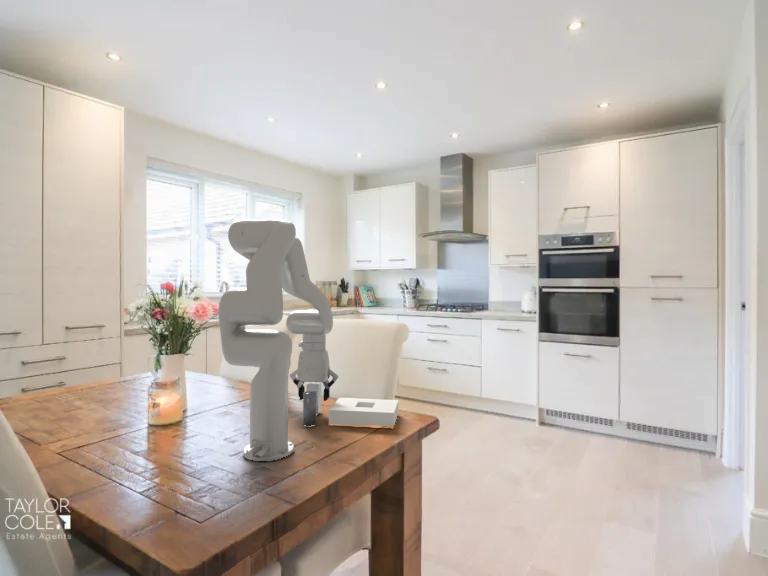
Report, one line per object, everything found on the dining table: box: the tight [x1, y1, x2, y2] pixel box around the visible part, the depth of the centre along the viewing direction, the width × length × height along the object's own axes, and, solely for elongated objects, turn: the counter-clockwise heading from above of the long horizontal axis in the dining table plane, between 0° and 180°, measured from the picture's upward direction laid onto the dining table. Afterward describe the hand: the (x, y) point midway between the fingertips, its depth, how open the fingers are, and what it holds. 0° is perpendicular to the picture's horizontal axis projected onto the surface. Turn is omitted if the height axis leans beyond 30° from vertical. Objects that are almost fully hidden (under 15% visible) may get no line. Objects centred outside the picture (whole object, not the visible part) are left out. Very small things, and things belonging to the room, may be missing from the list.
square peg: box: [305, 382, 322, 414], centre depth 144 cm, size 4×4×10 cm
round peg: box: [302, 391, 317, 426], centre depth 133 cm, size 4×4×10 cm
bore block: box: [328, 397, 399, 426], centre depth 138 cm, size 14×20×5 cm
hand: (313, 399), depth 144 cm, fingers open, 7 cm apart
